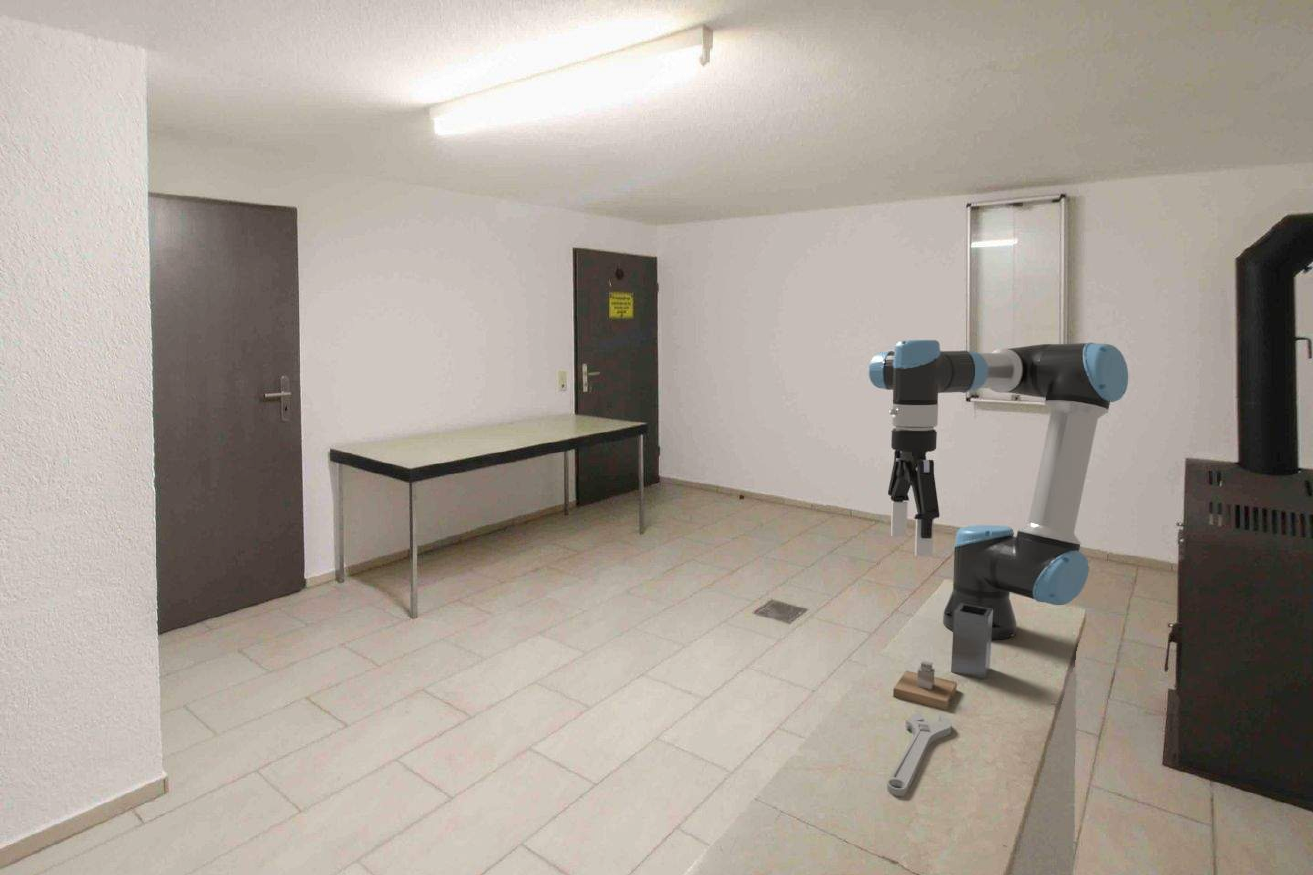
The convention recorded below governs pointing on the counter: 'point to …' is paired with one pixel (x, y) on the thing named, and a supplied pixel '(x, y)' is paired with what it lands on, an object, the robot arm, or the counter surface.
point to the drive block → (925, 687)
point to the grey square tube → (972, 640)
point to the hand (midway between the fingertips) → (910, 545)
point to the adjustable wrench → (916, 750)
